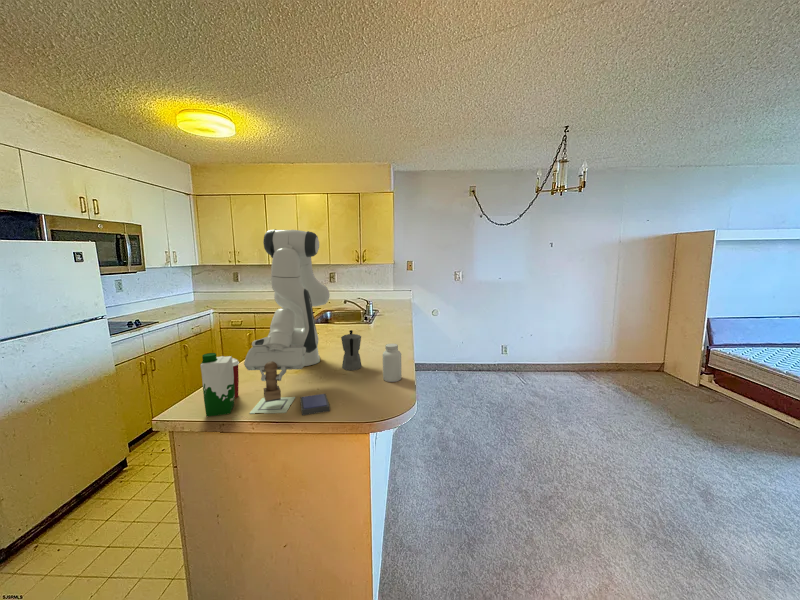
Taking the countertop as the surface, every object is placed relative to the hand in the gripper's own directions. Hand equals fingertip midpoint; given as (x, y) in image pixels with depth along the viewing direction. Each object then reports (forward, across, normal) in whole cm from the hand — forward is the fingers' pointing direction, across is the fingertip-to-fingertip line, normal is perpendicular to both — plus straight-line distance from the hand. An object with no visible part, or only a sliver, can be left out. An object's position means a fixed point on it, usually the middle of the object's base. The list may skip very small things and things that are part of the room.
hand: (271, 380), depth 114 cm
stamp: (+4, 0, -5) cm, 7 cm away
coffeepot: (-21, -24, -34) cm, 47 cm away
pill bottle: (-10, -43, -24) cm, 50 cm away
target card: (+6, 0, -8) cm, 10 cm away
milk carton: (+8, +17, -6) cm, 20 cm away
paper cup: (0, +19, -14) cm, 23 cm away
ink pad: (+7, -15, -6) cm, 18 cm away
